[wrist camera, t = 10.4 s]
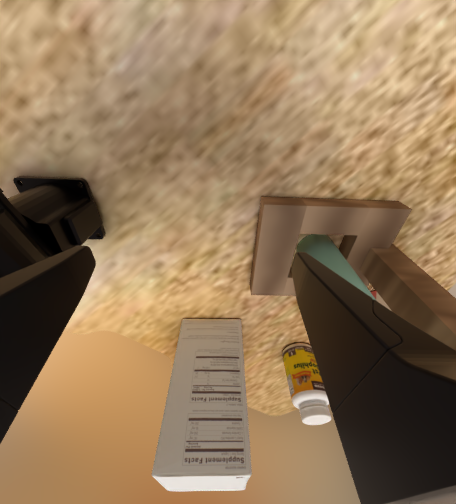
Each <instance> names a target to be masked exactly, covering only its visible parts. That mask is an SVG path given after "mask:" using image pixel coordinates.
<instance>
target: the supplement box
mask: <svg viewBox="0 0 456 504" xmlns="http://www.w3.org/2000/svg"><path fill="white" fill-rule="evenodd" d="M248 425H249V424H248V413H247V399H246V387H245V370H244V354H243V340H242V325H241V319H182V323H181V328H180V333H179V339H178V344H177V349H176V354H175V359H174V364H173V369H172V375H171V380H170V385H169V390H168V395H167V400H166V406H165V410H164V415H163V420H162V425H161V431H160V435H159V440H158V445H157V451H156V455H155V461H154V466H153V471H152V476H153V477H154V478H155V479H156V480H157V481H158V482H159V483H160V484H161V485H162V486H163V487H164V488H166V489H167V490H168V491H236V490H245V487H246V484H247V481H248V479H249V477H250V476H251V474H252V471H251V455H250V441H249V426H248Z"/></svg>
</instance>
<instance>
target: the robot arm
mask: <svg viewBox="0 0 456 504" xmlns="http://www.w3.org/2000/svg"><path fill="white" fill-rule="evenodd" d="M20 181H21V182H22V183H23V184H22V183H21V182H20ZM79 182H80V183H82V185H83V186H81V185H80V183H79ZM14 183H15V185H16V187H17V189H18V190H19V192H20V194H17V195H15V196H13V197H11V198H8V199H7V198H6V197H5V195H4V194H3V193H2V192H3V191H2V190H1V188H0V443H1V442H2V440H3V438H4V436H5V434H6V433H7V431H8V429H9V427H10V425H11V424H12V422H13V420H14V418H15V417H16V414H17V413H18V410H19V409H20V407H21V405H22V403H23V402H24V400H25V398H26V397H27V395H28V393H29V391H30V389H31V388H32V386H33V384H34V382H35V380H36V379H37V377H38V375H39V373H40V372H41V370H42V368H43V366H44V365H45V363H46V361H47V359H48V357H49V355H50V354H51V352H52V350H53V348H54V346H55V345H56V343H57V341H58V340H59V338H60V336H61V334H62V332H63V331H64V329H65V327H66V325H67V323H68V322H69V320H70V318H71V316H72V315H73V313H74V311H75V309H76V307H77V306H78V304H79V302H80V300H81V298H82V296H83V294H84V292H85V290H86V287H87V285H88V283H89V280H90V278H91V276H92V273H93V271H94V268H95V265H96V261H95V259H94V256H93V254H92V251H91V249H90V248H89V247H88V246H81V245H82V244H83V243H84V242H85V241H86V240H87V239H103V238H104V236H105V232H104V229H103V227H102V221H101V218H100V215H99V212H98V210H97V207H96V204H95V202H94V201H93V198H92V195H91V192H90V189H89V186H88V183H87V182H86V181H85V180H84V179H81V178H57V177H28V176H19V177H16V178H14ZM99 234H100V235H99ZM291 271H292V277H293V282H294V288H295V293H296V298H297V302H298V306H299V309H300V312H301V315H302V319H303V322H304V325H305V328H306V331H307V334H308V338H309V341H310V344H311V347H312V350H313V353H314V357H315V360H316V363H317V366H318V369H319V372H320V376H321V379H322V382H323V385H324V388H325V391H326V395H327V398H328V401H329V404H330V407H331V410H332V413H333V417H334V420H335V423H336V427H337V430H338V433H339V436H340V439H341V442H342V446H343V449H344V452H345V455H346V458H347V461H348V465H349V468H350V471H351V474H352V477H353V480H354V483H355V487H356V490H357V493H358V496H359V499H360V502H361V504H456V350H454V349H453V348H451V347H449V346H448V345H446V344H444V343H443V342H441V341H439V340H438V339H436V338H434V337H433V336H431V335H429V334H428V333H426V332H424V331H423V330H421V329H419V328H418V327H416V326H415V325H413V324H411V323H410V322H408V321H406V320H405V319H403V318H402V317H400V316H398V315H397V314H395V313H394V312H392V311H391V310H389V309H388V308H386V307H385V306H383V305H382V304H380V303H379V302H377V301H376V300H374V299H373V298H372V297H370V296H369V295H367V294H366V293H364V292H363V291H361V290H360V289H358V288H357V287H356V286H354V285H353V284H351V283H350V282H348V281H347V280H345V279H344V278H342V277H341V276H340V275H338V274H337V273H335V272H334V271H332V270H331V269H329V268H328V267H326V266H325V265H324V264H322V263H321V262H319V261H318V260H316V259H315V258H313V257H312V256H310V255H309V254H307V253H306V252H296V254H295V256H294V260H293V263H292V267H291Z"/></svg>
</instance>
